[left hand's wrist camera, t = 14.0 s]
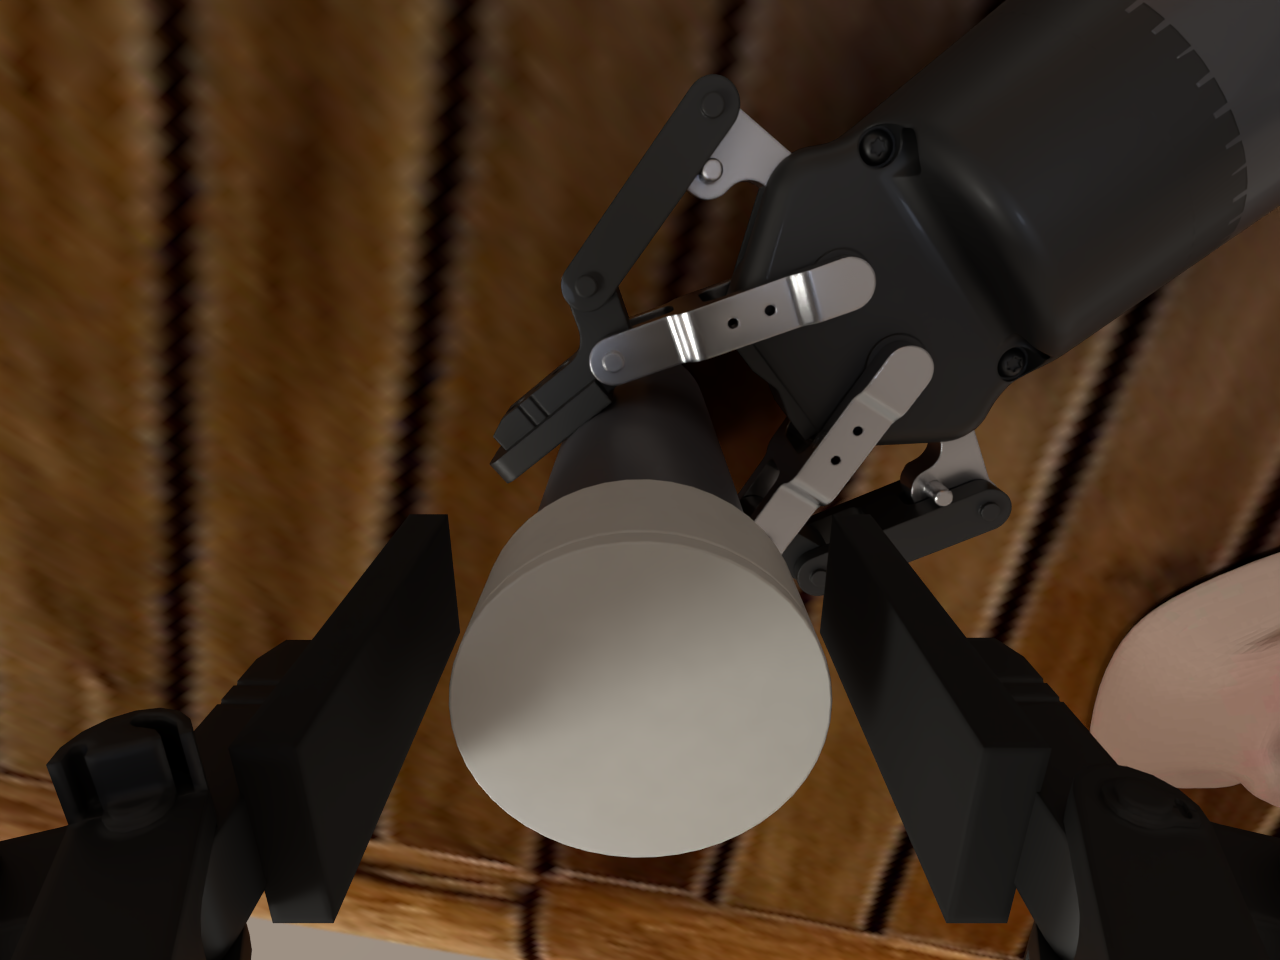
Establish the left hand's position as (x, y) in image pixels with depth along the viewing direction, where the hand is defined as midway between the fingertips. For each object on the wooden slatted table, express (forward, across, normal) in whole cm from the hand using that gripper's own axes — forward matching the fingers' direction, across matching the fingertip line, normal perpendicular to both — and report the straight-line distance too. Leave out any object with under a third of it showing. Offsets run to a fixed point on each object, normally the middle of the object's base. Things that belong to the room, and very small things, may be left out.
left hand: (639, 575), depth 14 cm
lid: (-4, 0, 0) cm, 4 cm away
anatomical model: (+12, +26, -11) cm, 31 cm away
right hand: (+6, -2, -2) cm, 6 cm away
